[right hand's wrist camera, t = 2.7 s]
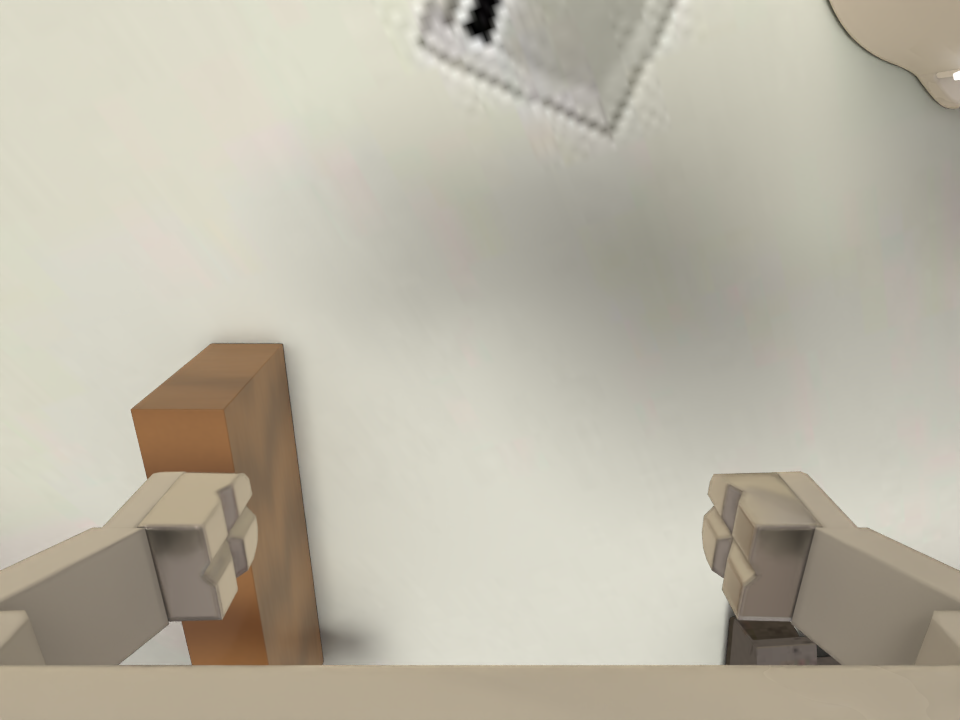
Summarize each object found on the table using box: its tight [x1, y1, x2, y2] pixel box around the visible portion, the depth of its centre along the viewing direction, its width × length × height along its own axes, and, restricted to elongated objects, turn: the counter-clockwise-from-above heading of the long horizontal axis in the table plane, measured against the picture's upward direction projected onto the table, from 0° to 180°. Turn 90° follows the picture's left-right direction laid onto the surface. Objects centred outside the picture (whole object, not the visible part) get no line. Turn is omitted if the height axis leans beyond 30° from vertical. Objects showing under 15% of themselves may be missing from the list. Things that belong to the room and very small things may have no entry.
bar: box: [131, 344, 323, 665], centre depth 39 cm, size 28×5×9 cm, turn 0°
